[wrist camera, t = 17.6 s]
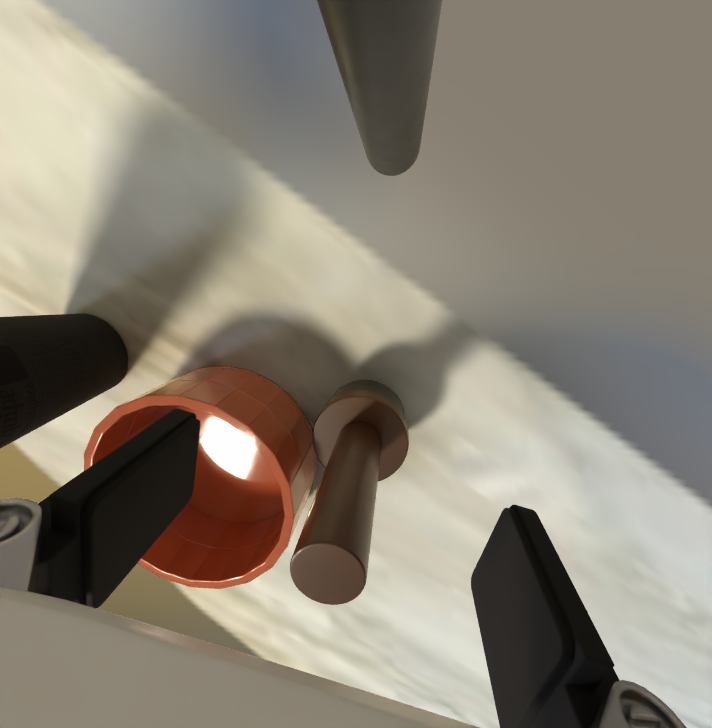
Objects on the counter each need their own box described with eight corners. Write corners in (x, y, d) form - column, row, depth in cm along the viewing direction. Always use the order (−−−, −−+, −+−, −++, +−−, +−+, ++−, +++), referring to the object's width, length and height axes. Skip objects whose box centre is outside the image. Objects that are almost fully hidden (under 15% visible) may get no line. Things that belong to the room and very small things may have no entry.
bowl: (157, 344, 21) (84, 368, 16) (335, 394, 20) (314, 434, 15) (145, 495, 24) (81, 552, 19) (298, 542, 23) (271, 613, 19)
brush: (335, 366, 20) (259, 479, 9) (418, 389, 20) (436, 533, 9) (317, 439, 21) (234, 610, 11) (394, 462, 21) (386, 660, 10)
